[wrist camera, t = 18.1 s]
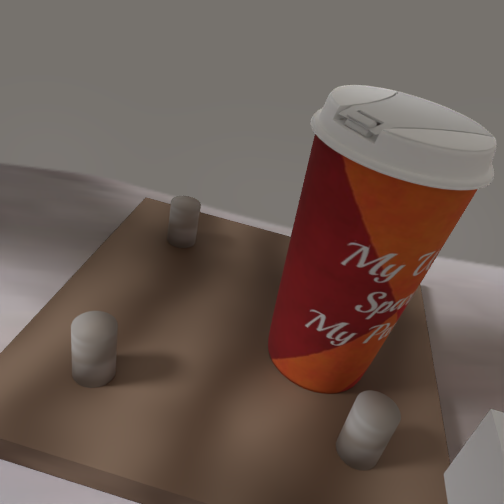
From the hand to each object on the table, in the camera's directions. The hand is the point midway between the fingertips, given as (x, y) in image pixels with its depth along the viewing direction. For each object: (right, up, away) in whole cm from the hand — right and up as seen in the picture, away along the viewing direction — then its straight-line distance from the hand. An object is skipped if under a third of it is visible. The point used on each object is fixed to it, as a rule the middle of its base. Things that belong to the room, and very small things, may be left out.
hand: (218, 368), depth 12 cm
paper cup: (+4, -3, +15) cm, 16 cm away
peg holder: (+1, -2, +17) cm, 17 cm away
